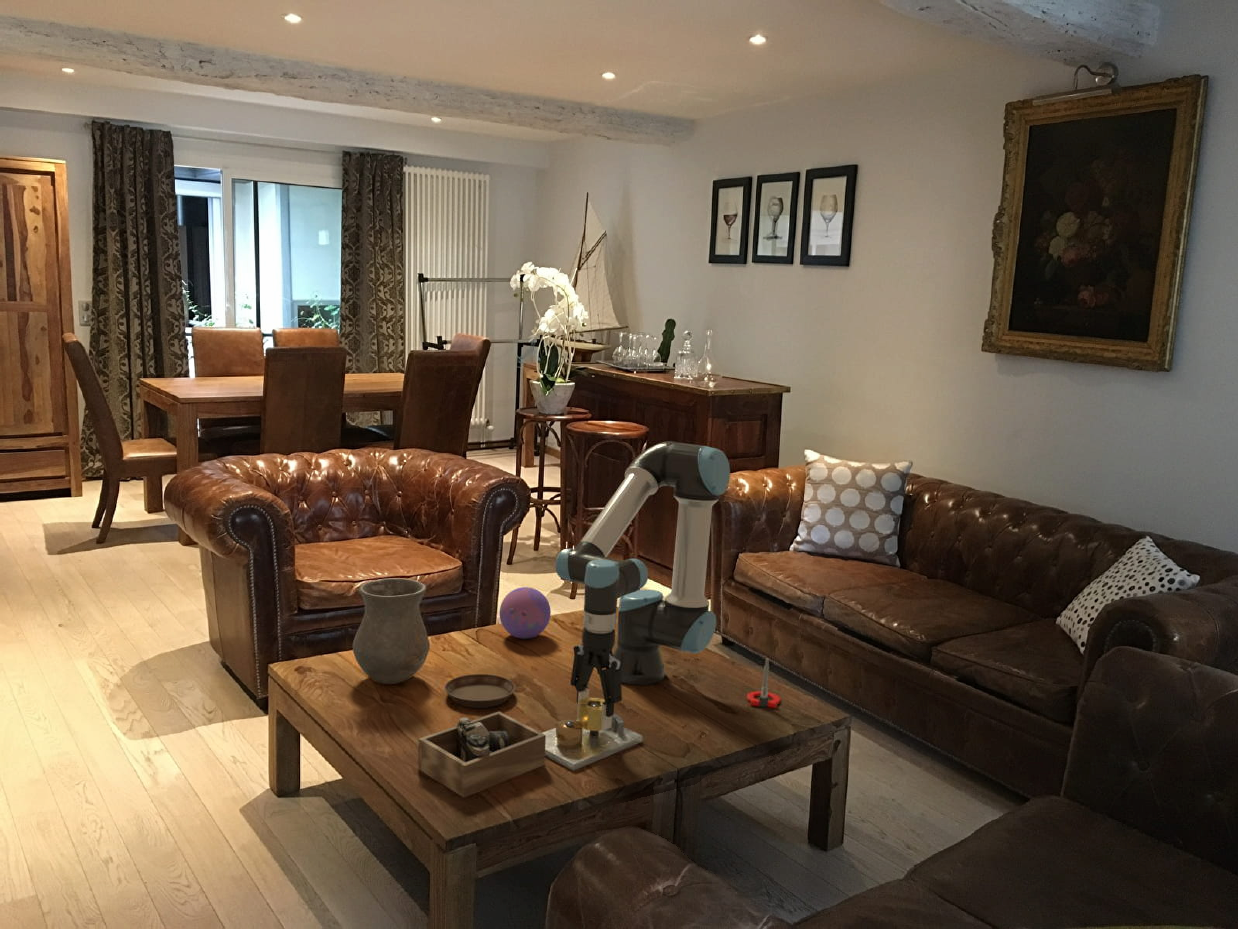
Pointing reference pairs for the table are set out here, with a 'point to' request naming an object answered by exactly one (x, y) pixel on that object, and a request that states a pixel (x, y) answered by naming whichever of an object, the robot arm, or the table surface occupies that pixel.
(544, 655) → the table surface
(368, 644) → the vase
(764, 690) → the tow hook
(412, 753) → the table surface
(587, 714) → the gear
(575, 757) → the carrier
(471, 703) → the plant saucer
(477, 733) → the camera
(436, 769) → the camera caddy
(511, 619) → the decorative ball
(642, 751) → the table surface
